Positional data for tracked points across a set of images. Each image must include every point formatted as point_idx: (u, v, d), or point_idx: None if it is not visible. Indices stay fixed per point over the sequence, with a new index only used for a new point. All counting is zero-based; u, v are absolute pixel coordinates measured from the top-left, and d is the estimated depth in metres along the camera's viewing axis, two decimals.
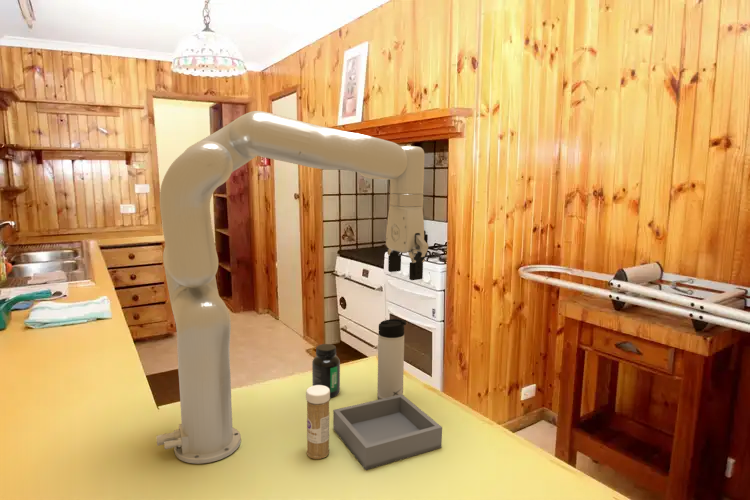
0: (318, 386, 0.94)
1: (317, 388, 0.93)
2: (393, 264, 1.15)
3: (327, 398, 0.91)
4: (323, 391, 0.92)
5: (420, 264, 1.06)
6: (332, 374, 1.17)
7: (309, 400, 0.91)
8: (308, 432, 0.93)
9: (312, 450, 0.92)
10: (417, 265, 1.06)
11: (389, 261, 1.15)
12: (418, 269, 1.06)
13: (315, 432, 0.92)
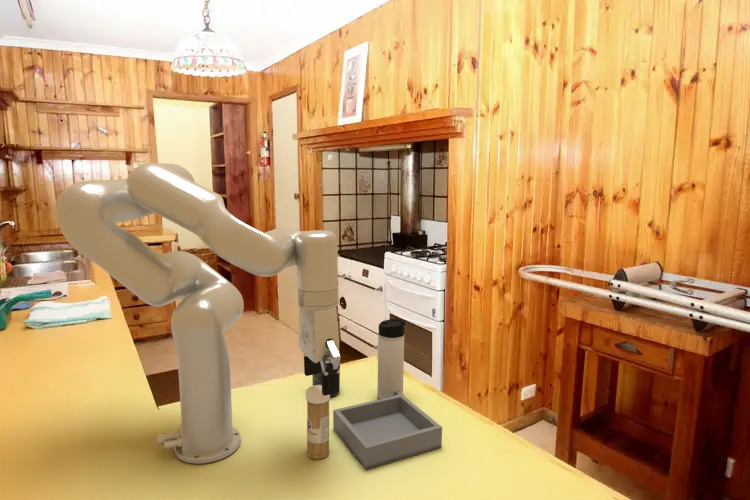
0: (318, 386, 0.94)
1: (317, 388, 0.93)
2: (310, 366, 0.96)
3: (327, 398, 0.91)
4: None
5: (334, 376, 0.87)
6: None
7: (309, 400, 0.91)
8: (308, 432, 0.93)
9: (312, 450, 0.92)
10: (330, 378, 0.86)
11: (305, 363, 0.95)
12: (332, 382, 0.87)
13: (315, 432, 0.92)
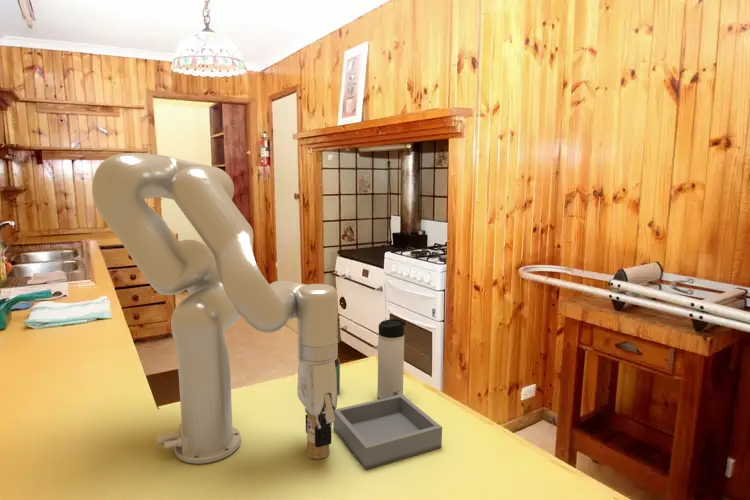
0: None
1: None
2: None
3: None
4: None
5: (327, 429, 0.91)
6: None
7: None
8: (308, 432, 0.93)
9: (312, 450, 0.92)
10: (323, 431, 0.90)
11: (306, 422, 0.95)
12: (324, 435, 0.91)
13: None
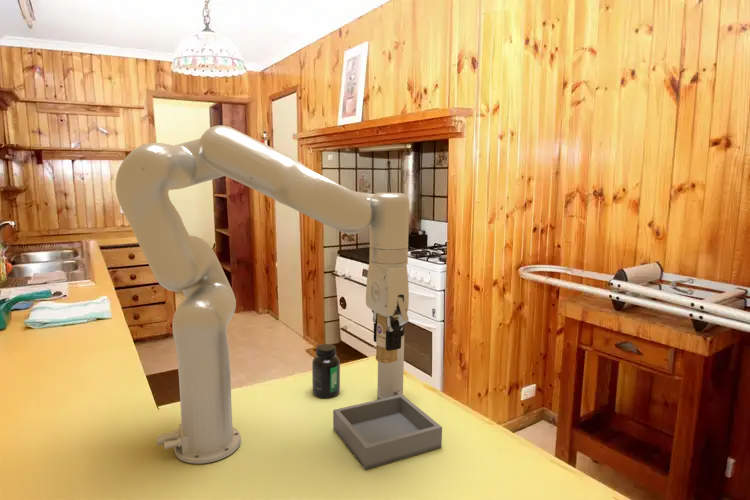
0: None
1: None
2: None
3: None
4: None
5: (398, 333, 0.93)
6: (332, 374, 1.17)
7: None
8: (378, 337, 0.95)
9: (382, 354, 0.95)
10: (394, 334, 0.93)
11: (374, 330, 0.98)
12: (395, 338, 0.93)
13: None
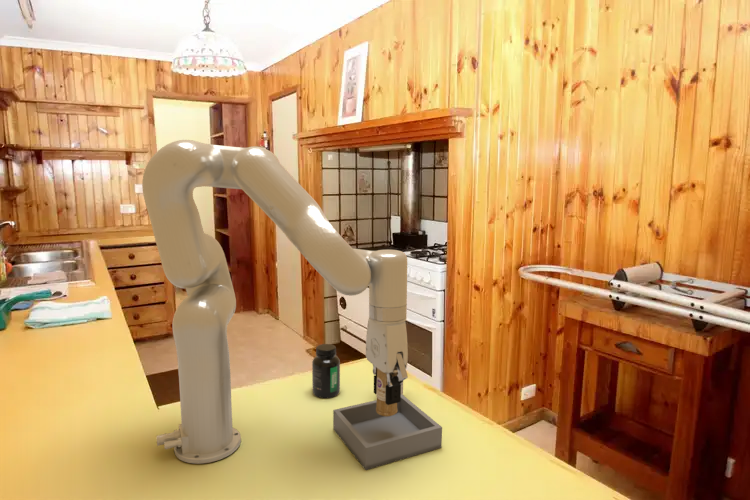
0: None
1: None
2: None
3: None
4: None
5: (397, 387, 0.95)
6: (332, 374, 1.17)
7: None
8: (378, 391, 0.97)
9: (382, 408, 0.97)
10: (394, 389, 0.95)
11: (374, 382, 1.00)
12: (395, 393, 0.95)
13: None
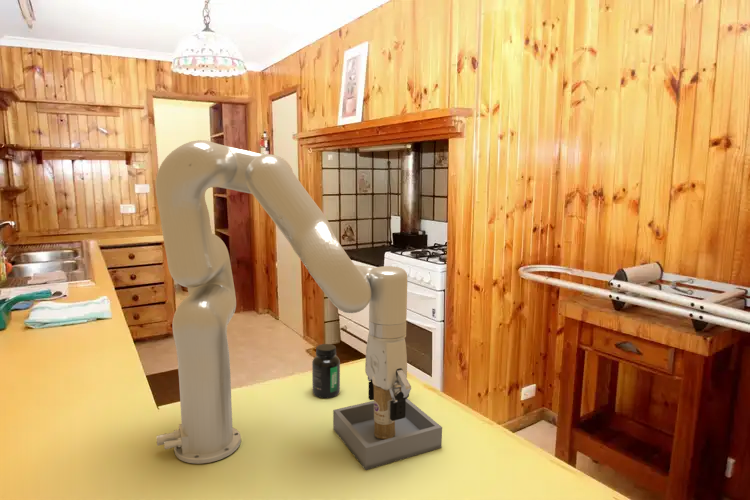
0: None
1: None
2: None
3: None
4: None
5: (402, 403, 0.94)
6: (332, 374, 1.17)
7: (376, 384, 0.96)
8: (376, 414, 0.98)
9: (380, 431, 0.98)
10: (399, 405, 0.93)
11: (369, 388, 1.02)
12: (400, 409, 0.94)
13: (383, 414, 0.97)
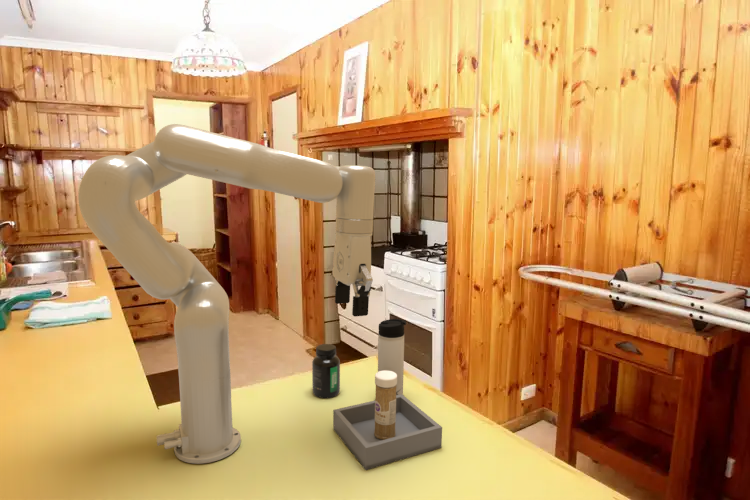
0: (385, 371, 0.99)
1: (384, 373, 0.98)
2: (340, 295, 1.03)
3: (395, 382, 0.97)
4: (391, 375, 0.97)
5: (365, 299, 0.94)
6: (332, 374, 1.17)
7: (379, 384, 0.96)
8: (377, 414, 0.98)
9: (380, 431, 0.98)
10: (361, 300, 0.94)
11: (336, 292, 1.03)
12: (362, 304, 0.94)
13: (384, 415, 0.97)
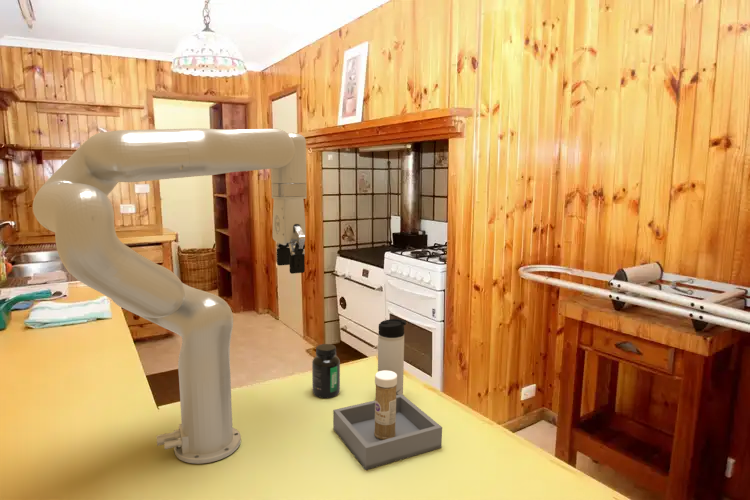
0: (385, 371, 0.99)
1: (384, 373, 0.98)
2: (282, 257, 1.11)
3: (395, 382, 0.97)
4: (391, 375, 0.97)
5: (300, 257, 1.02)
6: (332, 374, 1.17)
7: (379, 384, 0.96)
8: (377, 414, 0.98)
9: (380, 431, 0.98)
10: (297, 258, 1.01)
11: (277, 254, 1.10)
12: (298, 262, 1.02)
13: (384, 415, 0.97)
